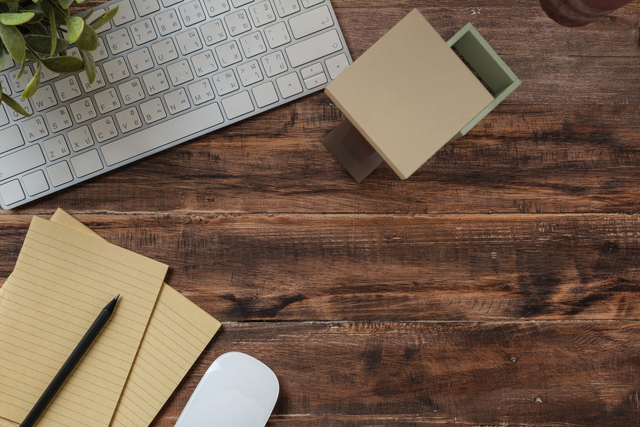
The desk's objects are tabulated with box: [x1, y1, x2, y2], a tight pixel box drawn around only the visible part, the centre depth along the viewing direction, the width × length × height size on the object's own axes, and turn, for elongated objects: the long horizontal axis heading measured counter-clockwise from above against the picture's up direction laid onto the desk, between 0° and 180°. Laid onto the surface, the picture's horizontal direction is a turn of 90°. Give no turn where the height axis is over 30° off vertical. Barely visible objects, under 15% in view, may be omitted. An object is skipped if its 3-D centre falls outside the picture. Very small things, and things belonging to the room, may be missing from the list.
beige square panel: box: [323, 7, 494, 181], centre depth 40 cm, size 10×10×2 cm
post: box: [319, 116, 385, 185], centre depth 54 cm, size 8×8×27 cm
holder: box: [445, 21, 523, 143], centre depth 66 cm, size 11×11×6 cm
